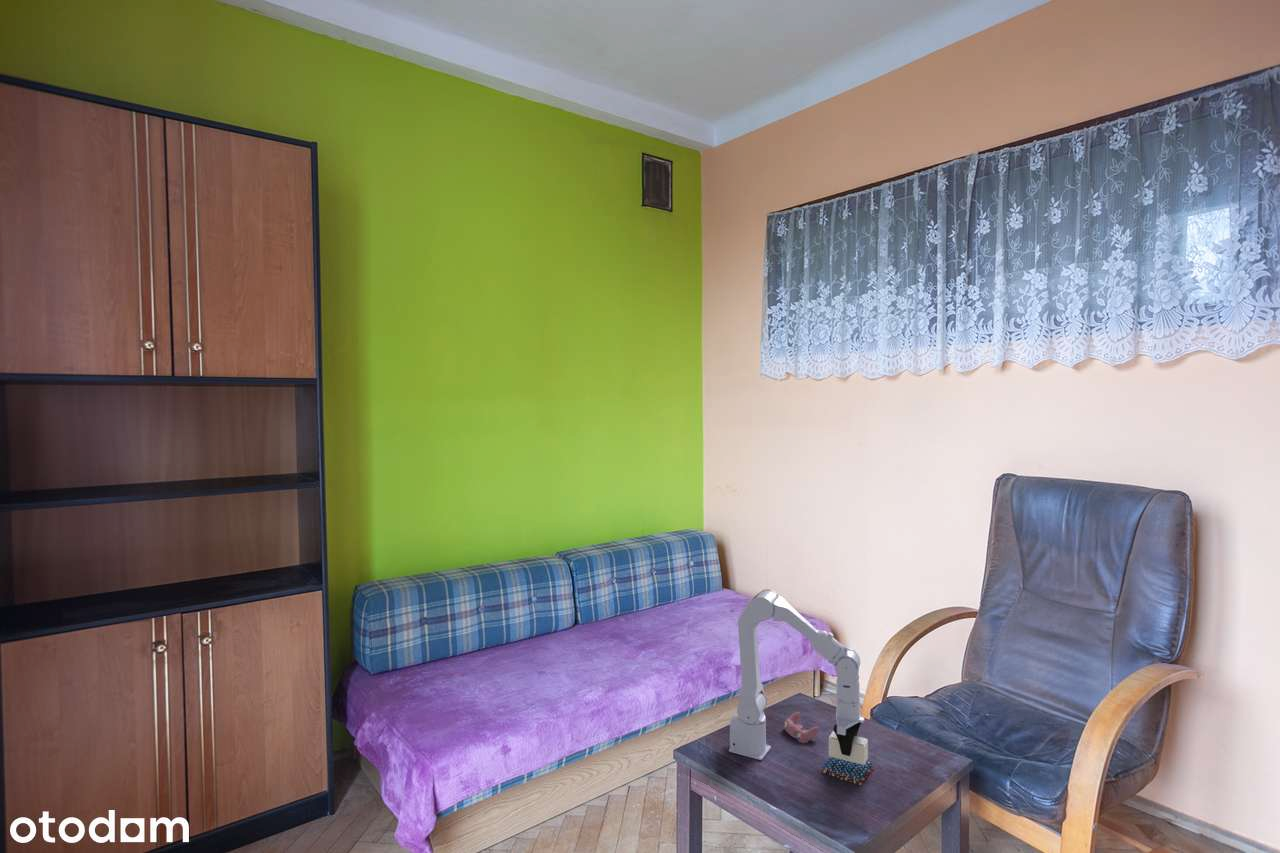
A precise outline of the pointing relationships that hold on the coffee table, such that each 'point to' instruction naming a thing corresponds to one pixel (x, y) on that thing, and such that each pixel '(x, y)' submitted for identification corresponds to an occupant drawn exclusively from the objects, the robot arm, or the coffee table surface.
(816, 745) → the coffee table surface
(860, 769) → the woven mat
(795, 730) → the pink curved figurine
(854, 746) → the painted block
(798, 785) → the coffee table surface
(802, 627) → the robot arm
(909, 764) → the coffee table surface
